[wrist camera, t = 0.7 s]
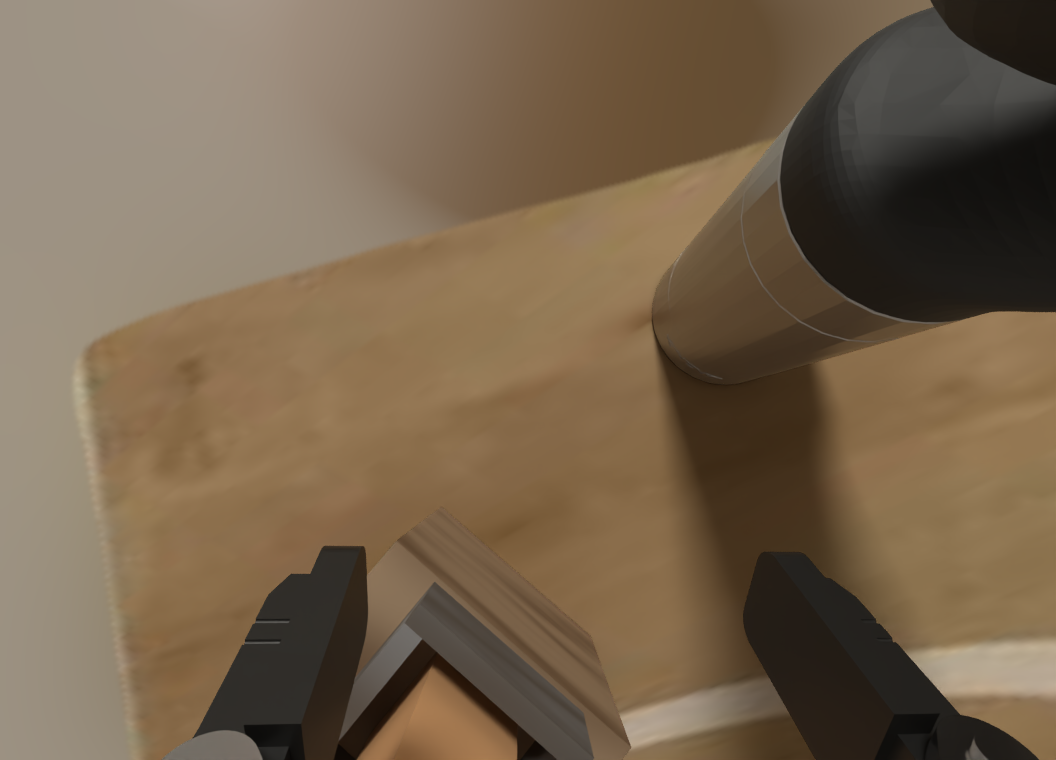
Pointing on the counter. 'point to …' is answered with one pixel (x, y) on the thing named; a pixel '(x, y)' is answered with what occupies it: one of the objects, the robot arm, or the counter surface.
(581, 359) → the counter surface
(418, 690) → the plug
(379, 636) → the square socket base
